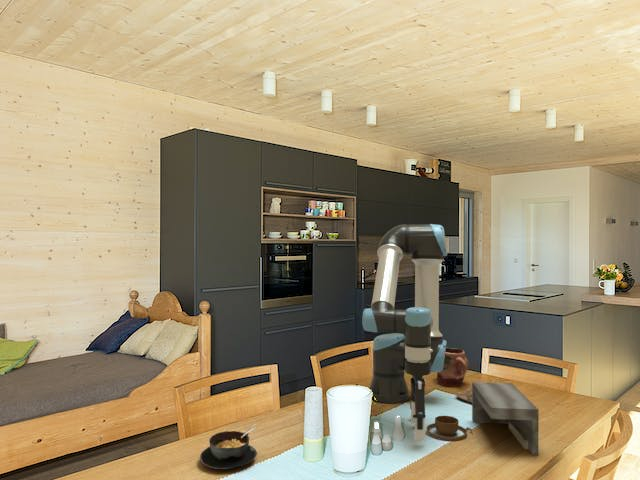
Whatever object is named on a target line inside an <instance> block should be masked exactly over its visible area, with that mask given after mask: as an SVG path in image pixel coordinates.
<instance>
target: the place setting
mask: <svg viewBox="0 0 640 480" xmlns="http://www.w3.org/2000/svg"><path fill="white" fill-rule="evenodd" d="M411 402H412V401H410V402H409V408H410V410H411ZM412 427H413V428H412V429H413V430H415V426H412ZM425 428H426V432H427V435H429V436H430V437H432V438H434V439H437V440H439V441H440V440H441V441H446V442H456V441H461V440H464V439H465V438H466V437H467V435H468V433H470V435H472V436H474V433H473V429H472V428H470V427H469V426H467V427H464V426H461V425H459V419H458V418H456V417H454V416H452V415H451V416H450V415H437V416H435V418H434V422H433V423H430V424H428V425H427V426H426V427H425ZM432 429H436V431H437V432H438V433H439V434H440V435H439V434H436V433H433V432H431V430H432ZM458 431H460V432H461V433H462V434H463V435H460V436H453V435H454V434H456V433H457V432H458Z"/></svg>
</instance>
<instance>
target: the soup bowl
mask: <svg viewBox="0 0 640 480" xmlns="http://www.w3.org/2000/svg"><path fill="white" fill-rule="evenodd" d="M258 425H259V423H255V424H253V425H252V426H251V427H249V428H248V429H247V430H246V431H245V432H241V431H236V430H233V431H232V430H230V431H227V430H226V431H219V432H217V433H215V434H213V435H211V437H210V438H209V441H208V443H209V446H208V447H205V448H204V449H203V450H202V451H201V453H200V456H199V459H200V463H201V464H203V465H205V466H206V467H208V468H210V469H215V470H226V469H227V470H228V469H229V470H230V469H235V468H239V467H243V466H245V465H247V464H249V463H251V462H252V461H254V460H255V459H256V458H257V455H258V451H257V449H256V448H255V447H254V446H252V445H250V444H249V443H250V436H248V435H249V434H250V433H251V431H253V430H254V429H256V428H257V426H258Z"/></svg>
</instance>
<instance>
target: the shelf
mask: <svg viewBox="0 0 640 480" xmlns="http://www.w3.org/2000/svg"><path fill="white" fill-rule="evenodd" d="M471 385H472V387H471V389H472V404H471V407H472V408H471V421H472V423H479V424H480V423H485V424H507V425H508V429H509V431H510V432H511V433H512V435H513V436H514V437H515V439H516V440H517V441H518V442H519V444H520V446H521V447H522V448H523V449H524V450H528V452H530V454H531V455H532V456H537V457H538V456H539V424H540V423H539V420H540V419H539V417H540V415H539V413H540V412H539V408H538V407H537V406H536V405H534V403H533V402H532V401H531V400H530V399H529V398H528V397H527V396H525V394H524V393H522V391H521V390H519V389H518V388H517V387H516V386H515V384H514V383H511V382H487V381H486V382H485V381H484V382H480V381H472V382H471Z"/></svg>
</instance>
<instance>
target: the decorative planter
mask: <svg viewBox="0 0 640 480" xmlns="http://www.w3.org/2000/svg"><path fill="white" fill-rule="evenodd" d="M469 366H470V365H469V361H468V359H467V357H466V353H465V351H464V350H463V348H462V349H461V348H452V347H446V351H445V358H444V365H443V370H442V371H441V372H436V380H437V382H438V384H440V385H441V386H445V387H458V386H461V385H462V384H464V383H463V382H464V379H465V376H466V374H467V371H468V370H469Z"/></svg>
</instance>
